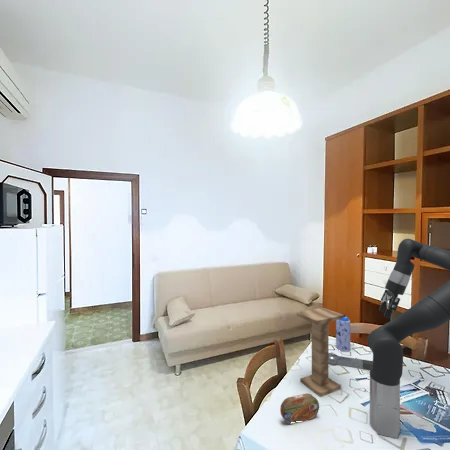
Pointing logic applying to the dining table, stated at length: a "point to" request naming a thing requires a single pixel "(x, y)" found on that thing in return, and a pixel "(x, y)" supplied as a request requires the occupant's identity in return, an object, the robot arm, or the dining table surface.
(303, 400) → the tin
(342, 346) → the aerosol can
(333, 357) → the ratchet
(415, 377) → the dining table surface
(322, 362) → the walnut stand
